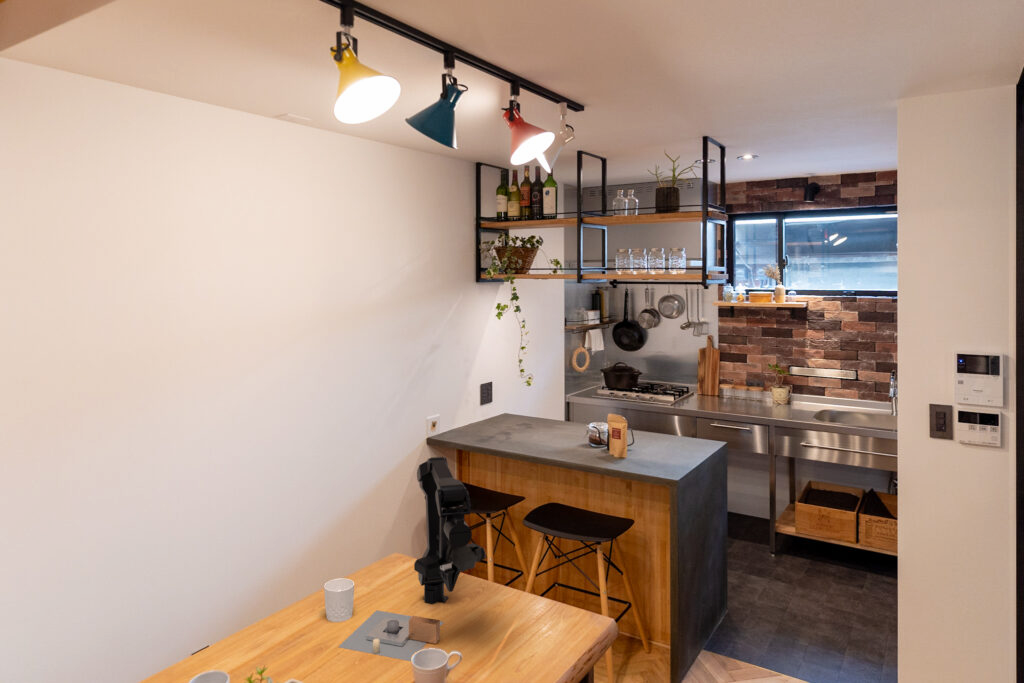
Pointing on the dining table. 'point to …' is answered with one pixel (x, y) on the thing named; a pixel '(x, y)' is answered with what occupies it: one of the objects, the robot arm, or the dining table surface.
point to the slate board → (384, 647)
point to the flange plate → (407, 631)
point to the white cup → (339, 599)
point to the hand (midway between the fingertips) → (450, 591)
